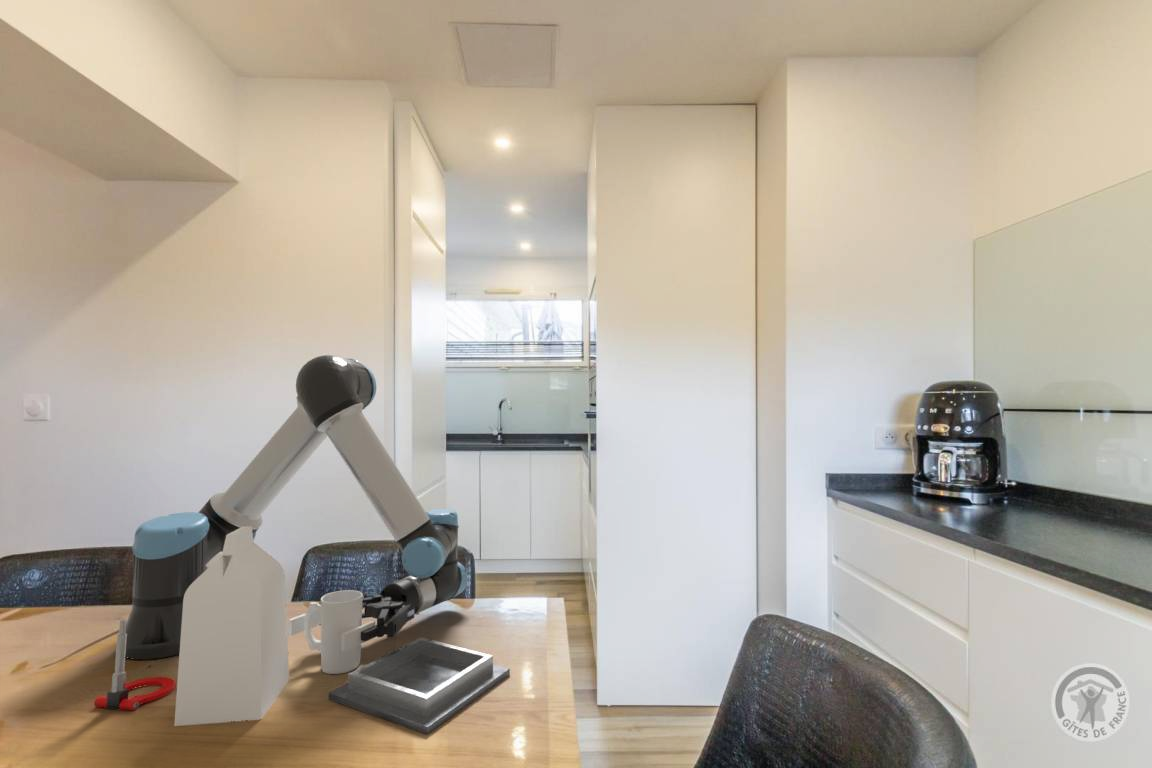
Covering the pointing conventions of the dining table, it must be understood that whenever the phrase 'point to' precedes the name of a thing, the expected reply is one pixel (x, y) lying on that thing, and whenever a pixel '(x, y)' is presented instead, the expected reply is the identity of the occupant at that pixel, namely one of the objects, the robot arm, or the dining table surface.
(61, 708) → the dining table surface
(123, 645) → the tow hook
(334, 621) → the mug
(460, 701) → the grey shallow square tray
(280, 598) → the milk
